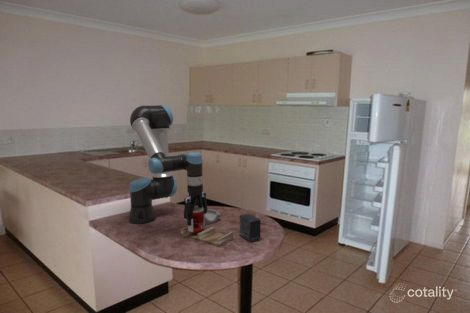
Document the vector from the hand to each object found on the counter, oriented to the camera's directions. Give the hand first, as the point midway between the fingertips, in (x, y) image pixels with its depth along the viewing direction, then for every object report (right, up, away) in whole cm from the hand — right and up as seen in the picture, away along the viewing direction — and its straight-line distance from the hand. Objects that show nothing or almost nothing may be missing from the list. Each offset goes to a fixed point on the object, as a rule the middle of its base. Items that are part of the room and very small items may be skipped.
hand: (196, 228), depth 165 cm
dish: (+3, -1, +22) cm, 22 cm away
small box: (+27, -4, -3) cm, 27 cm away
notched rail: (+5, -4, -2) cm, 7 cm away
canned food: (0, -1, 0) cm, 1 cm away
